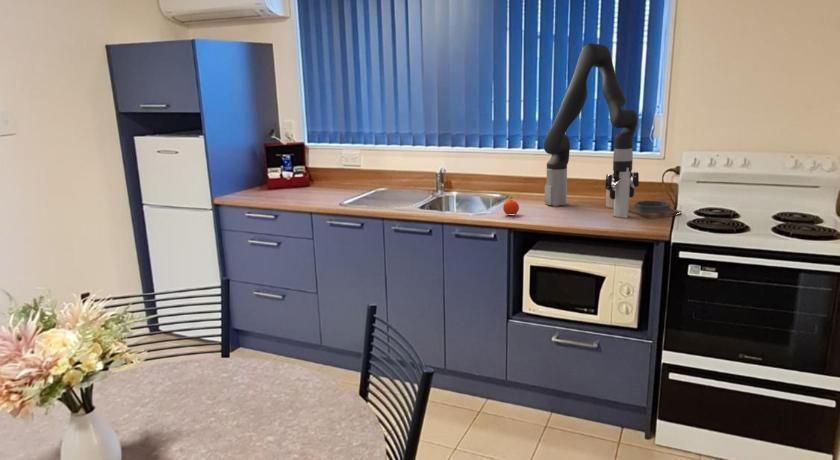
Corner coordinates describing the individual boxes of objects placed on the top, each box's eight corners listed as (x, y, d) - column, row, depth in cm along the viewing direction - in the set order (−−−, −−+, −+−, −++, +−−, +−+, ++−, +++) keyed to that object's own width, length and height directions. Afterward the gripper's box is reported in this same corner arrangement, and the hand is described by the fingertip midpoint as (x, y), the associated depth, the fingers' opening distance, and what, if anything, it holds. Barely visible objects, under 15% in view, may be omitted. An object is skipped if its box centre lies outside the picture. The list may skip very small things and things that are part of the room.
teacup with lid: (626, 208, 260) (627, 183, 257) (605, 208, 263) (606, 183, 260) (626, 203, 271) (626, 178, 269) (605, 203, 274) (606, 178, 271)
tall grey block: (614, 214, 251) (616, 164, 246) (629, 214, 248) (631, 164, 243) (611, 217, 245) (613, 166, 240) (626, 218, 242) (628, 167, 237)
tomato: (501, 213, 262) (500, 198, 261) (516, 212, 263) (516, 197, 261) (505, 217, 255) (505, 201, 253) (520, 216, 255) (520, 200, 254)
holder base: (647, 218, 240) (648, 209, 240) (623, 210, 256) (623, 201, 256) (681, 214, 244) (681, 205, 243) (655, 207, 260) (655, 198, 259)
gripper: (632, 157, 246) (631, 195, 250) (602, 159, 243) (601, 198, 247) (643, 158, 239) (642, 197, 243) (612, 161, 236) (611, 201, 240)
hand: (621, 198), depth 245 cm, fingers open, 8 cm apart
